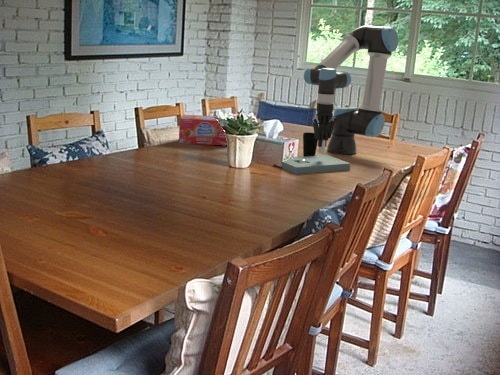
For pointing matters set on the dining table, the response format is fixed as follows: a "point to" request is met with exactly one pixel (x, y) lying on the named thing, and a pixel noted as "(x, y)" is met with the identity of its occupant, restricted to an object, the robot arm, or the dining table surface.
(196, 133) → the box
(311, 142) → the cup
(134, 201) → the dining table surface
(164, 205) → the dining table surface
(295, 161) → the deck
